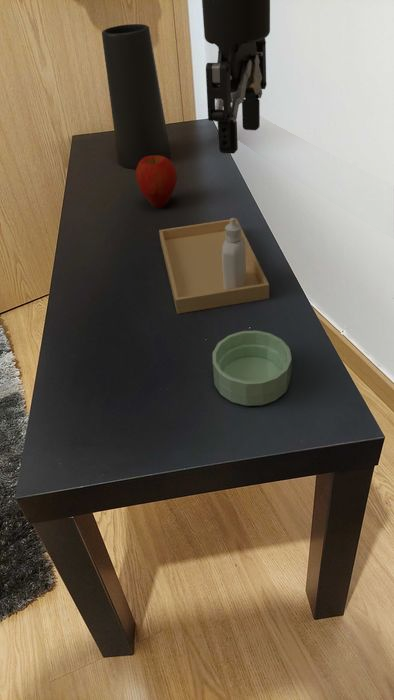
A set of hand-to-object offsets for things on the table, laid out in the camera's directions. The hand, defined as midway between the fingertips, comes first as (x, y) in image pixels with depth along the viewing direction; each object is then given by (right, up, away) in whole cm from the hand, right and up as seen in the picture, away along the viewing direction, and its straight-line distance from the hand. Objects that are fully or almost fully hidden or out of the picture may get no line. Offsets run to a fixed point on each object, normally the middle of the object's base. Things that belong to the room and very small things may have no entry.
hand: (240, 140), depth 66 cm
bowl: (+2, -31, +3) cm, 32 cm away
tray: (-3, -13, +25) cm, 28 cm away
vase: (-19, +22, +66) cm, 72 cm away
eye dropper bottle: (+1, -16, +19) cm, 25 cm away
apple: (-14, +4, +45) cm, 47 cm away
